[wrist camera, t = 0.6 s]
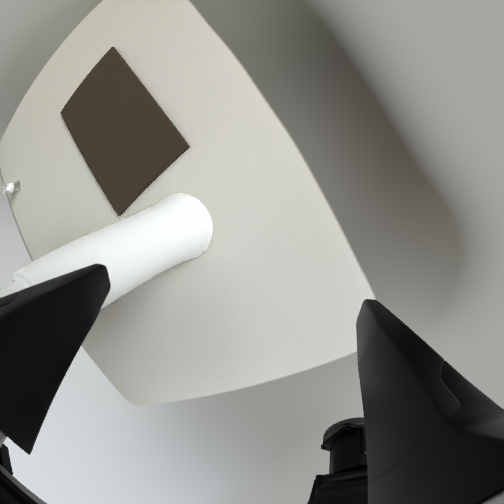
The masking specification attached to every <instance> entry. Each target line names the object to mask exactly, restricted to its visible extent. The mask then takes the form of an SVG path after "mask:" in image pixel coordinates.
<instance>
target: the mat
mask: <svg viewBox="0 0 504 504" xmlns="http://www.w3.org/2000/svg"><path fill="white" fill-rule="evenodd" d="M61 115H62V117H63V119H64V121H65V123H66V125H67V127H68V129H69V131H70V133H71V135H72V136H73V138H74V140H75V142H76V144H77V146H78V148H79V150H80V151H81V153H82V155H83V157H84V159H85V161H86V162H87V164H88V166H89V168H90V169H91V171H92V173H93V175H94V176H95V178H96V180H97V181H98V183H99V185H100V186H101V188H102V190H103V191H104V193H105V195H106V196H107V198H108V199H109V201H110V203H111V204H112V206H113V207H114V209H115V211H116V212H117V214H118V215H121V214H122V213H123V212H124V211H125V210H126V209H127V208H128V207H129V206H130V205H131V204H132V202H133V201H134V200H135V199H136V198H137V197H138V196H139V195H140V194H141V193H142V192H143V191H144V190H145V189H146V188H147V187H148V186H149V185H150V184H151V183H152V182H153V181H154V180H155V179H156V178H157V177H158V176H159V175H160V174H161V173H162V172H163V171H164V170H165V169H166V168H167V167H168V166H169V165H170V164H172V163H173V162H174V161H175V160H176V159H177V158H178V157H179V156H180V155H181V154H182V153H184V152H185V151H186V150H187V149H188V148H189V147H190V146H189V145H188V143H187V142H186V141H185V139H184V138H183V137H182V135H181V134H180V133H179V131H178V130H177V129H176V127H175V126H174V125H173V123H172V122H171V121H170V119H169V118H168V117H167V115H166V114H165V113H164V111H163V110H162V109H161V108H160V106H159V105H158V104H157V102H156V101H155V100H154V98H153V97H152V96H151V94H150V93H149V92H148V90H147V89H146V88H145V86H144V85H143V84H142V83H141V81H140V80H139V79H138V77H137V76H136V75H135V73H134V72H133V71H132V70H131V68H130V67H129V66H128V64H127V63H126V62H125V60H124V59H123V58H122V57H121V55H120V54H119V53H118V51H117V50H116V49H115V48H114V47H111V49H110V50H109V51H108V52H107V53H106V54H105V55H104V56H103V57H102V59H101V60H100V61H99V62H98V63H97V64H96V66H95V67H94V68H93V69H92V70H91V72H90V73H89V74H88V75H87V77H86V78H85V79H84V80H83V82H82V83H81V84H80V86H79V87H78V88H77V90H76V91H75V92H74V94H73V95H72V96H71V98H70V99H69V101H68V102H67V104H66V105H65V106H64V108H63V109H62V111H61Z"/></svg>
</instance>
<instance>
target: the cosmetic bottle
mask: <svg viewBox="0 0 504 504" xmlns="http://www.w3.org/2000/svg"><path fill="white" fill-rule="evenodd" d="M212 233H213V227H212V220H211V217H210V215H209V212H208V211H207V209H206V207H205V206H204V205H203V204H202V203H201V202H200V201H199V200H198V199H196V198H195V197H193V196H191V195H188V194H184V193H176V194H172V195H169V196H167V197H165V198H164V199H162V200H161V201H159V202H157V203H156V204H154V205H152V206H150V207H148V208H146V209H144V210H142V211H140V212H138V213H136V214H133V215H131V216H129V217H126V218H124V219H122V220H119V221H117V222H115V223H112V224H110V225H108V226H106V227H103V228H101V229H99V230H96V231H94V232H92V233H89V234H87V235H85V236H83V237H80V238H78V239H76V240H74V241H72V242H70V243H67V244H65V245H63V246H61V247H59V248H57V249H55V250H53V251H51V252H49V253H47V254H45V255H43V256H41V257H40V258H38V259H36V260H34V261H32V262H30V263H29V264H27V265H25V266H23V267H22V268H20V269H18V270H17V271H16V272H15V273H14V276H13V282H12V283H11V284H9V285H7V286H5V287H3V288H1V289H0V298H1V297H4V296H7V295H9V294H12V293H15V292H17V291H20V290H23V289H25V288H28V287H31V286H33V285H36V284H39V283H42V282H44V281H47V280H50V279H53V278H55V277H58V276H61V275H64V274H67V273H70V272H72V271H75V270H78V269H81V268H84V267H87V266H90V265H93V264H102V265H105V266H106V267H107V270H108V275H109V279H110V283H111V288H110V291H109V293H108V295H107V297H106V299H105V301H104V303H103V305H102V307H101V309H103V308H105V307H106V306H108V305H109V304H111V303H112V302H114V301H116V300H117V299H119V298H120V297H122V296H123V295H125V294H127V293H128V292H130V291H131V290H133V289H135V288H136V287H138V286H140V285H141V284H143V283H144V282H146V281H148V280H149V279H151V278H153V277H155V276H156V275H158V274H160V273H162V272H164V271H165V270H167V269H169V268H171V267H173V266H176V265H178V264H180V263H182V262H185V261H188V260H191V259H194V258H196V257H198V256H200V255H201V254H203V253H204V252H205V250H206V249H207V248H208V246H209V244H210V242H211V239H212ZM101 309H100V310H101Z"/></svg>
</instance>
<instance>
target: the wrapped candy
mask: <svg viewBox="0 0 504 504" xmlns="http://www.w3.org/2000/svg"><path fill="white" fill-rule="evenodd" d="M13 191H16V192H18V191H20V182H19V181H18V182H15V183H14V184H13V183H9V184H8V185H5V184H2V185H1V194H2V195H4V194H5V193H6V192H8V193H11V192H13Z"/></svg>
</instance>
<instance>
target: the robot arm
mask: <svg viewBox="0 0 504 504" xmlns="http://www.w3.org/2000/svg"><path fill="white" fill-rule="evenodd" d="M110 288H111V283H110V279H109V275H108V270H107V267H106V266H105V265H102V264H93V265H90V266H87V267H84V268H81V269H78V270H75V271H72V272H70V273H67V274H64V275H61V276H58V277H55V278H53V279H50V280H47V281H44V282H42V283H39V284H36V285H33V286H31V287H28V288H25V289H23V290H20V291H17V292H15V293H12V294H9V295H7V296H4V297H1V298H0V504H46V503H45V502H44V501H43V500H41V499H40V498H39V497H37V496H36V495H35V494H33V493H32V492H31V491H30V490H28V489H27V488H26V487H25V486H24V485H22V484H21V483H20V482H19V481H18V480H17V479H16V478H14V477H13V476H12V475H13V472H12V467H11V462H10V457H9V451H8V448H7V447H6V446H5V445H4V444H3V442H4V441H5V439H6V437H9V438H10V439H11V440H12V441H13V442H14V443H15V444H17V445H18V446H19V447H20V448H21V449H23V450H24V451H25V452H26V453H28V454H29V455H30V453H31V451H32V449H33V446H34V443H35V441H36V438H37V436H38V433H39V431H40V428H41V426H42V424H43V421H44V419H45V417H46V414H47V412H48V409H49V407H50V405H51V403H52V401H53V398H54V397H55V394H56V392H57V390H58V388H59V386H60V384H61V382H62V380H63V378H64V376H65V374H66V372H67V370H68V368H69V367H70V365H71V362H72V361H73V359H74V357H75V355H76V353H77V352H78V350H79V348H80V346H81V344H82V343H83V341H84V339H85V337H86V336H87V334H88V332H89V331H90V329H91V327H92V325H93V324H94V322H95V320H96V318H97V316H98V314H99V312H100V309H101V307H102V305H103V303H104V301H105V299H106V297H107V295H108V293H109V291H110ZM356 330H357V353H358V370H359V378H360V385H361V393H362V402H363V411H364V421H365V427H362V426H359V425H355V424H351V423H349V424H346V425H345V426H344V427H343V428H341V429H340V430H339V431H338V432H337V433H336V434H334V435H333V436H332V437H331V438H330V439H328V440H327V441H326V442H325V443H323V444H322V445H321V449H324V450H328V451H330V468H329V474H326V475H316V479H315V480H314V484H313V488H312V492H311V495H310V499H309V501H308V503H307V504H504V409H502V408H501V407H499V406H498V405H497V404H496V403H494V402H493V401H492V400H491V399H490V398H489V397H487V396H486V395H485V394H484V393H482V392H481V391H480V390H478V389H477V388H476V387H475V386H474V385H473V384H471V383H470V382H469V381H468V380H466V379H465V378H464V377H463V376H462V375H461V374H460V373H459V372H457V371H456V370H455V369H454V368H453V367H452V366H451V365H450V364H448V362H447V361H444V359H443V358H442V357H441V356H440V355H439V354H438V353H437V352H436V351H434V350H433V349H432V348H431V347H430V346H429V345H428V344H427V343H426V342H424V341H423V340H422V339H421V338H420V337H419V336H418V335H416V334H415V333H414V332H413V331H412V330H411V329H410V328H409V327H408V326H406V325H405V324H404V323H403V322H402V321H401V320H399V319H398V318H397V317H396V316H395V315H394V314H392V313H391V312H390V311H389V310H388V309H386V308H385V307H384V306H383V305H382V304H381V303H380V302H378V301H377V300H371V299H366V300H364V302H363V304H362V307H361V310H360V312H359V315H358V318H357V323H356Z"/></svg>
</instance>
